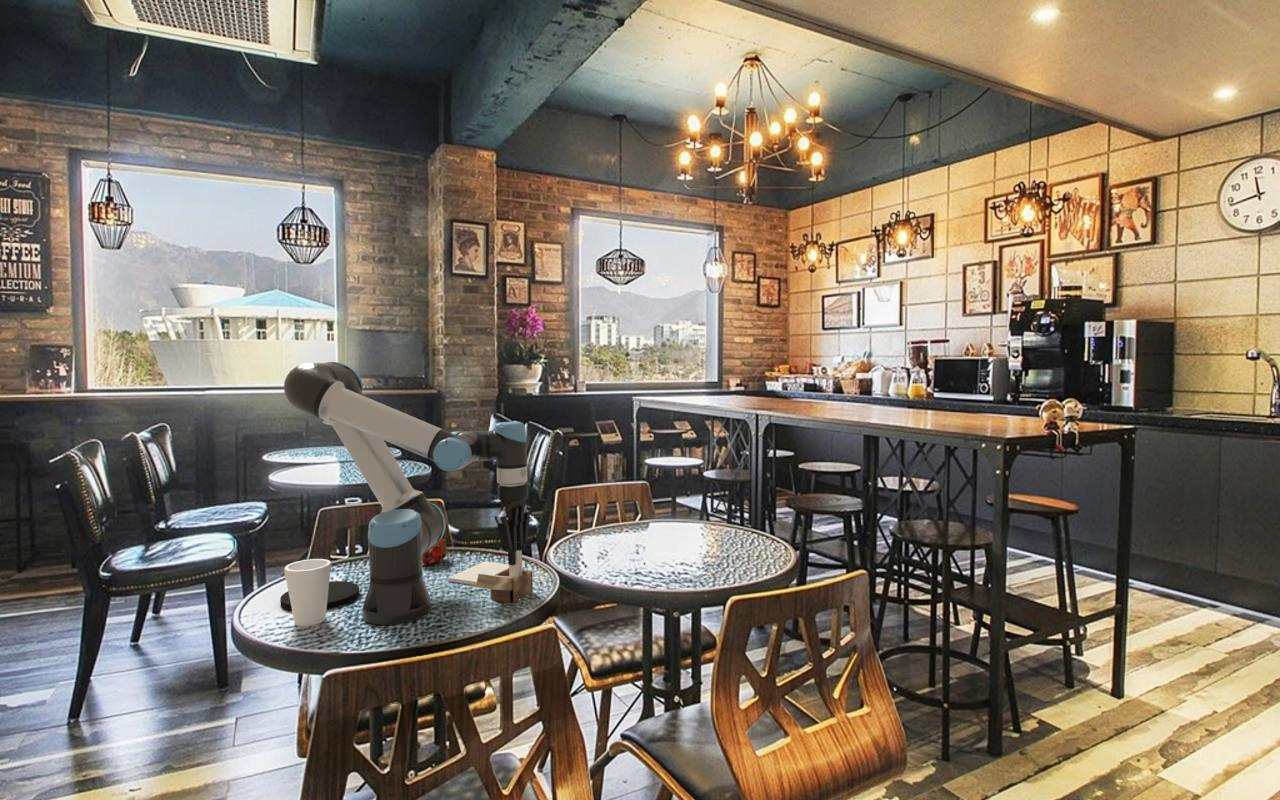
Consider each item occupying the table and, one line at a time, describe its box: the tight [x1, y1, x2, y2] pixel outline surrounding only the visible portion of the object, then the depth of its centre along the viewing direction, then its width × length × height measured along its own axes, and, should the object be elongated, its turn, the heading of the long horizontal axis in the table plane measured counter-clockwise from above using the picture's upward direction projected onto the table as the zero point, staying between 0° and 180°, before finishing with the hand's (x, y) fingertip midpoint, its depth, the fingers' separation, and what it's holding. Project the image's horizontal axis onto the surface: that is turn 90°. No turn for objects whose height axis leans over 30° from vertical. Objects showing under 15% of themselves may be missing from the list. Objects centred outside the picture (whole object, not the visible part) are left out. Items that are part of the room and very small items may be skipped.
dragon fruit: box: [422, 537, 449, 567], centre depth 199 cm, size 8×8×12 cm
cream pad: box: [447, 561, 509, 587], centre depth 187 cm, size 16×12×1 cm
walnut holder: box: [490, 568, 534, 604], centre depth 170 cm, size 9×7×6 cm
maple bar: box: [475, 574, 517, 592], centre depth 167 cm, size 14×5×3 cm, turn 156°
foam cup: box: [284, 558, 332, 627], centre depth 155 cm, size 10×9×13 cm
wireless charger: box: [279, 580, 360, 613], centre depth 170 cm, size 18×18×2 cm
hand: (515, 575), depth 172 cm, fingers closed
